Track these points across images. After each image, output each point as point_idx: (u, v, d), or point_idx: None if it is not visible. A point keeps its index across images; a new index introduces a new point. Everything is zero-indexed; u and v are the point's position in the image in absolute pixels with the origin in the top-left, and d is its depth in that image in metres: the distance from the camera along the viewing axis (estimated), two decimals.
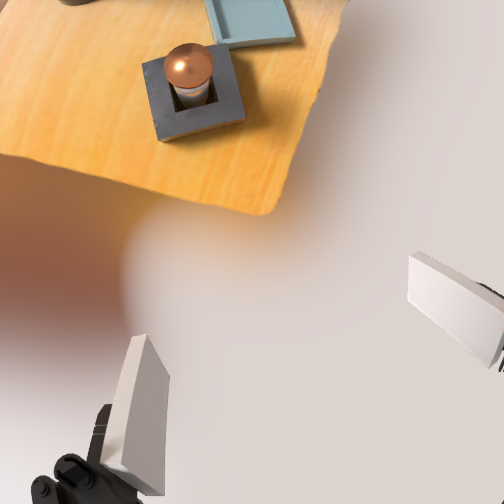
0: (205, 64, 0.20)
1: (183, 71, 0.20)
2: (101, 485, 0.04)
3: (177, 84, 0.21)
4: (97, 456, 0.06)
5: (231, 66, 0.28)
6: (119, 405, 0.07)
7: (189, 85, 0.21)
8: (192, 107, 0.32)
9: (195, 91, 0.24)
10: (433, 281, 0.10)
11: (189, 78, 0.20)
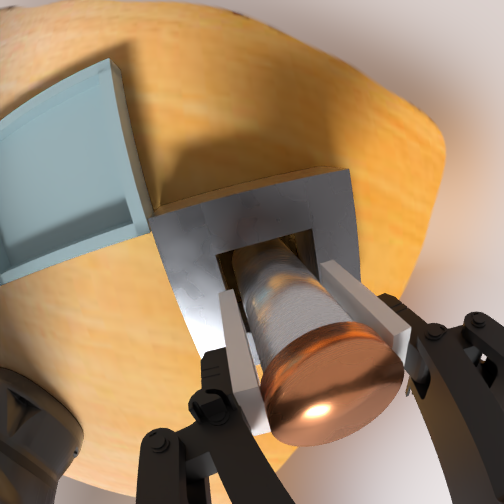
0: (359, 371, 0.07)
1: (361, 408, 0.07)
2: (238, 422, 0.06)
3: None
4: None
5: (219, 202, 0.14)
6: (233, 342, 0.09)
7: (400, 384, 0.08)
8: None
9: None
10: (337, 291, 0.12)
11: (385, 391, 0.07)
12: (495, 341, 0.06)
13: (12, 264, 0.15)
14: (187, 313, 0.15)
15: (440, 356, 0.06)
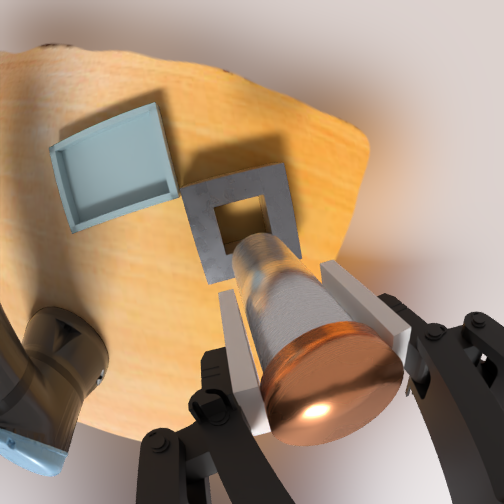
0: (358, 371, 0.07)
1: (361, 407, 0.07)
2: (238, 422, 0.06)
3: None
4: None
5: (215, 180, 0.27)
6: (233, 342, 0.09)
7: (399, 384, 0.08)
8: None
9: None
10: (337, 291, 0.12)
11: (385, 390, 0.07)
12: (495, 341, 0.06)
13: (81, 221, 0.29)
14: (197, 240, 0.29)
15: (440, 356, 0.06)
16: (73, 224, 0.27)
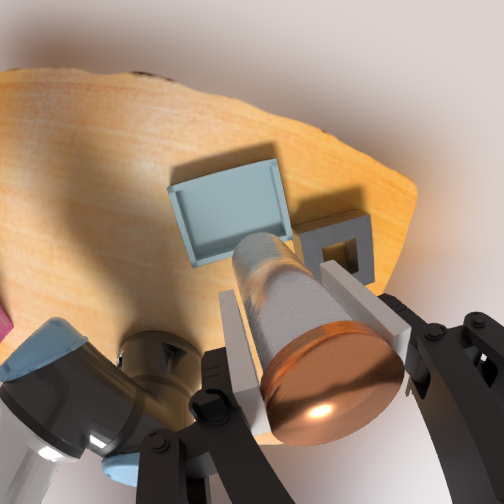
0: (359, 370, 0.07)
1: (361, 407, 0.07)
2: (238, 422, 0.06)
3: None
4: None
5: (325, 228, 0.36)
6: (233, 342, 0.09)
7: (400, 384, 0.07)
8: None
9: None
10: (337, 291, 0.12)
11: (385, 390, 0.07)
12: (495, 341, 0.06)
13: (197, 255, 0.37)
14: None
15: (440, 356, 0.06)
16: (194, 259, 0.36)
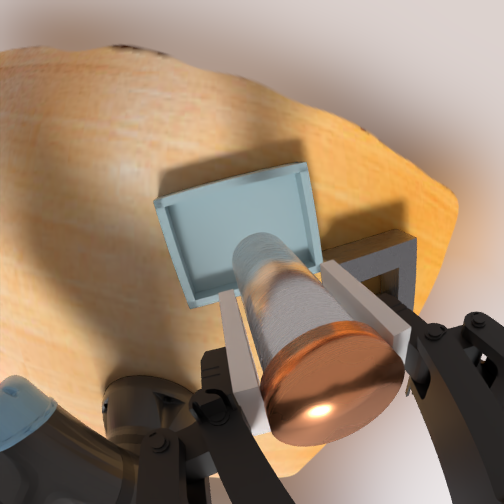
0: (359, 370, 0.07)
1: (361, 408, 0.07)
2: (238, 422, 0.06)
3: None
4: None
5: (365, 257, 0.26)
6: (233, 342, 0.09)
7: (400, 384, 0.07)
8: None
9: None
10: (337, 291, 0.12)
11: (385, 390, 0.07)
12: (495, 341, 0.06)
13: (197, 291, 0.28)
14: None
15: (440, 356, 0.06)
16: (192, 298, 0.26)
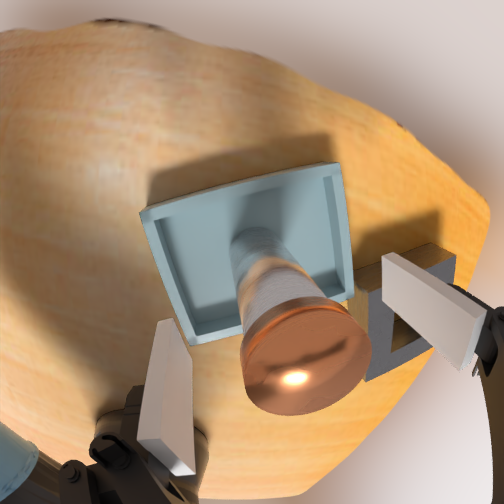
0: (323, 339, 0.08)
1: (332, 379, 0.09)
2: (138, 465, 0.05)
3: None
4: (129, 436, 0.07)
5: None
6: (152, 383, 0.08)
7: (369, 359, 0.09)
8: None
9: None
10: (404, 282, 0.11)
11: (354, 364, 0.09)
12: None
13: (198, 322, 0.22)
14: None
15: None
16: (193, 334, 0.20)
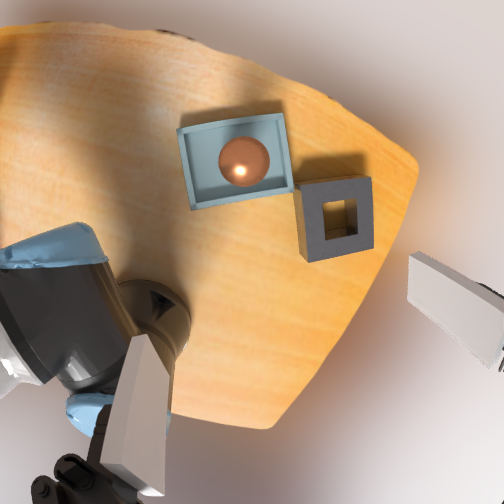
0: (247, 144, 0.23)
1: (253, 166, 0.24)
2: (101, 485, 0.04)
3: None
4: (97, 456, 0.06)
5: (326, 183, 0.35)
6: (119, 405, 0.07)
7: (269, 161, 0.24)
8: None
9: None
10: (433, 281, 0.10)
11: (262, 161, 0.24)
12: None
13: (198, 200, 0.37)
14: (307, 227, 0.37)
15: None
16: (194, 202, 0.35)
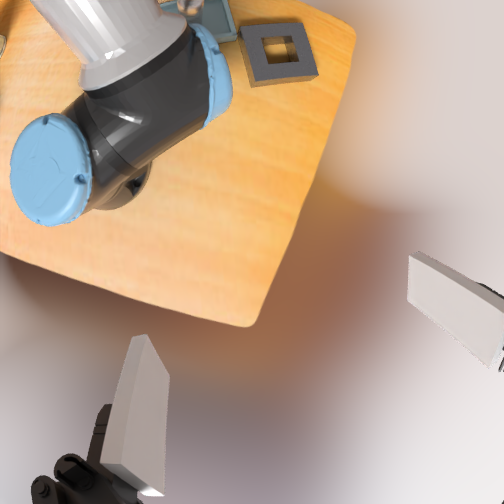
0: None
1: None
2: (101, 485, 0.04)
3: None
4: (97, 456, 0.06)
5: (262, 25, 0.33)
6: (119, 405, 0.07)
7: None
8: (201, 20, 0.33)
9: None
10: (433, 281, 0.10)
11: None
12: None
13: None
14: (249, 53, 0.35)
15: None
16: None
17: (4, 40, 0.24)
